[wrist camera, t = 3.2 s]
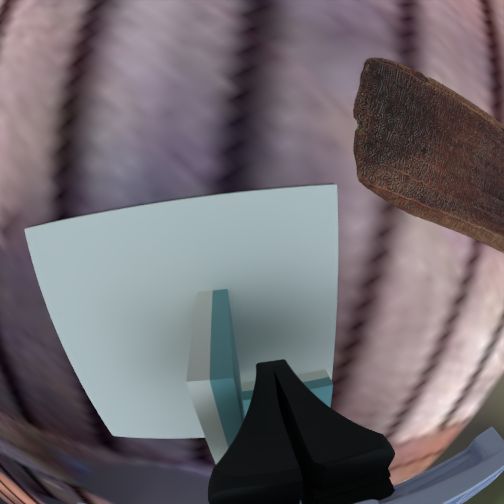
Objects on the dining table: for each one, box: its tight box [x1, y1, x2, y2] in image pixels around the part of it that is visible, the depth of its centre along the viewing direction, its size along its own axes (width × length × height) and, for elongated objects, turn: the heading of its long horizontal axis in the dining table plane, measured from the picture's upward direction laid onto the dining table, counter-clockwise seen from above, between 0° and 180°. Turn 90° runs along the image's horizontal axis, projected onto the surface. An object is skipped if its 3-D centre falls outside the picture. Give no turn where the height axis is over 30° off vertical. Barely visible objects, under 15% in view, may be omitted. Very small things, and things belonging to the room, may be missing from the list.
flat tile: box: [241, 369, 333, 416], centre depth 18 cm, size 6×7×2 cm
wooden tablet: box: [353, 58, 504, 253], centre depth 15 cm, size 26×2×10 cm
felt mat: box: [24, 184, 338, 438], centre depth 17 cm, size 18×18×1 cm
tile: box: [186, 289, 245, 464], centre depth 13 cm, size 6×2×7 cm, turn 5°
